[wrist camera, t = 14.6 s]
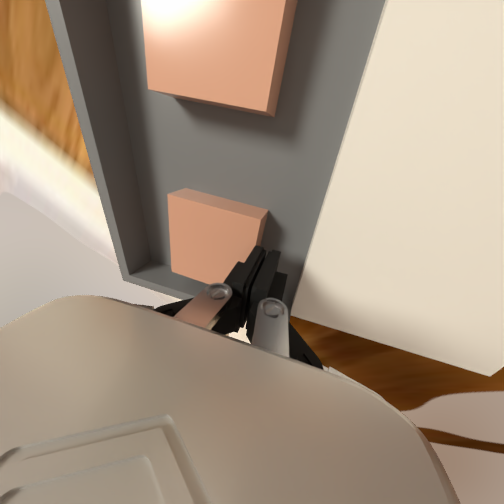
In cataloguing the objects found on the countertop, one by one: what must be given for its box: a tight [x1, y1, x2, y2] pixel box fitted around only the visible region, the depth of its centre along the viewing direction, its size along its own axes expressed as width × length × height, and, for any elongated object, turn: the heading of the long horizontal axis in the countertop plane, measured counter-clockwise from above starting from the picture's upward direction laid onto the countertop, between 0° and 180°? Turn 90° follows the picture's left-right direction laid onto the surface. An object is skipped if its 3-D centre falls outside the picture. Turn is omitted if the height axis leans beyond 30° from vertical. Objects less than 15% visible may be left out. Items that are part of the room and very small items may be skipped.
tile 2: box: [167, 188, 268, 285], centre depth 14 cm, size 6×6×2 cm
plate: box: [291, 0, 504, 376], centre depth 10 cm, size 20×13×2 cm, turn 173°
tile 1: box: [141, 0, 298, 117], centre depth 8 cm, size 6×6×2 cm
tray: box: [45, 0, 385, 321], centre depth 12 cm, size 21×14×4 cm
